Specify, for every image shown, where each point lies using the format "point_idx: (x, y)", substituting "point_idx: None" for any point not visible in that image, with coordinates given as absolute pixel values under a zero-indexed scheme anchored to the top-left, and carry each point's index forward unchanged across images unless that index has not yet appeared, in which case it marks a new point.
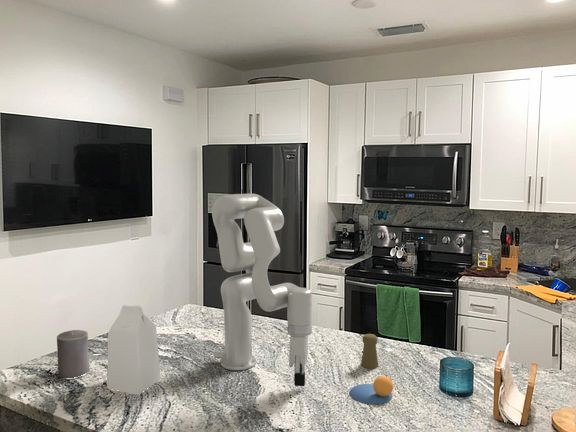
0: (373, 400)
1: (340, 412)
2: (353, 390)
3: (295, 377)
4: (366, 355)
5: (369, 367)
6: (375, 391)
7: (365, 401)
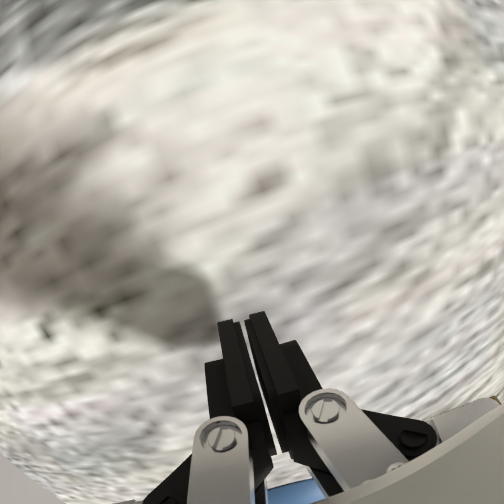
0: None
1: (116, 493)
2: (302, 488)
3: (230, 380)
4: None
5: None
6: None
7: None
